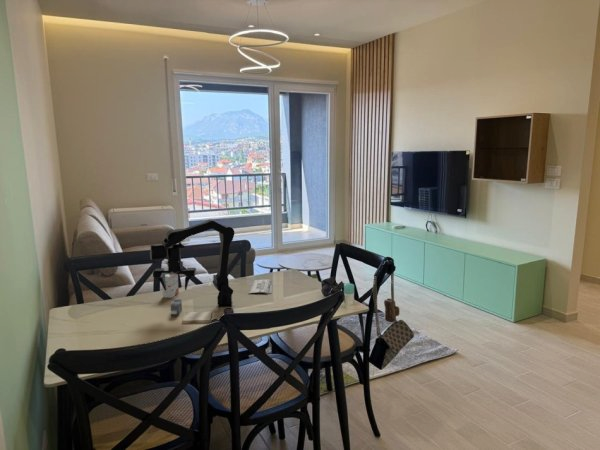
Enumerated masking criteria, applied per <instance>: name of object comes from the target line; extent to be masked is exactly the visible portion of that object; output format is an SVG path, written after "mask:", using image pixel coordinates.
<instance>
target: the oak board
mask: <svg viewBox="0 0 600 450" xmlns="http://www.w3.org/2000/svg"><path fill="white" fill-rule="evenodd" d="M212 317H213V311H186V312H185V314H184V315H183V318H182V320H181V324H202V323H203V324H206V323H207V324H208V323H211V320H212Z"/></svg>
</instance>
